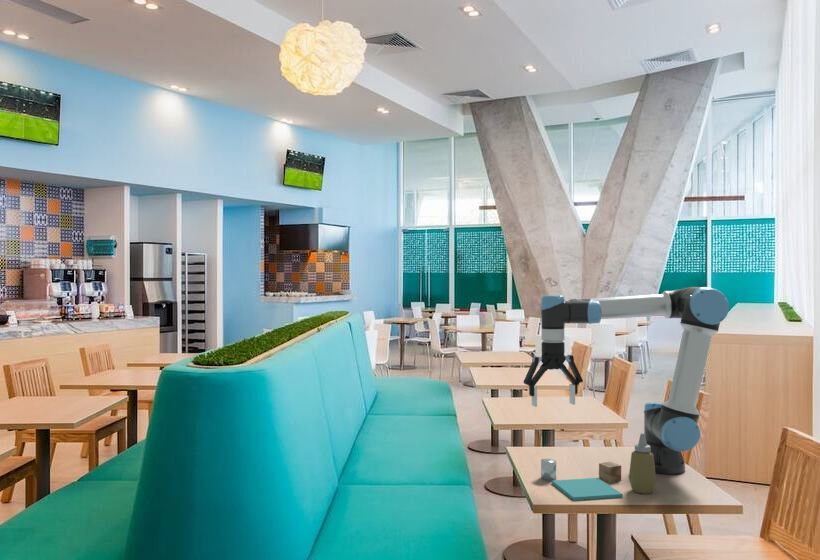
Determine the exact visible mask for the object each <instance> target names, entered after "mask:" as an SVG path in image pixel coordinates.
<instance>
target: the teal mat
mask: <svg viewBox="0 0 820 560" xmlns="http://www.w3.org/2000/svg"><path fill="white" fill-rule="evenodd" d="M551 485H553V486H554V487H556V488H557V489H558V490H559V491H560V492H562V493H563V494H564V495H566V496H567V497H568V498H570V499H571V500H572V499H573V500H575V501H585V500H584V499H590V500H603V499H615V498H617V499H618V498H623V493H622V492H620V491H619V490H617V489H615V488H614V487H612V485H610V484H608V483H606V481H604V480H603V479H600V478H599V477H588V478H574V479H570V478H569V479H559V480H558V479H556V480H553V481H551ZM573 500H572V501H573Z"/></svg>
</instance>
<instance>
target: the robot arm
mask: <svg viewBox="0 0 820 560" xmlns="http://www.w3.org/2000/svg"><path fill="white" fill-rule="evenodd" d="M729 310H730V305H729V301H728V298H727V297H726V295H725V294H724V293H723V292H722V291H720V290H719V289H716V288H712V287H709V286H702V287H701V286H690V287H683V288H681V289H674V290H664V291H663V292H662V293H661V294H660V293H659V294H658V293H657V294H643V295H628V296H627V295H626V296H613V297H612V296H610V297H595V298H594V297H593V298H580V299H576V298H573V299H569V300H565V296H564V295H561V294H558V295H557V294H551V295H549V294H548V295H547V294H546V295H543V296H542V297H541V305H540V314H541V315H540V318H541V320H540V321H541V322H540V323H541V327H540V328H541V332H540V333H541V335H540V336H541V340H542V342H541V356H536V355H533V356H532V361H531V364H530V366H529V369H528V371H527V373H526V375H525V377H524V380H523V384H524V385H526V386H528V394H529V396H530V397H531V406H533V407H534V408H536V407H538V387H537V386H536V385H537V383H538V382H539V381H540V379H541V378H542V377H543V375H545V373H546V372H548V370H550V371H551V370H560V371H561V372H562V373H563V374H564V376H566V378H567V379H568V381H569V382H571V383H569V385H568V386H569V388H568V389H569V393H568V394H569V398H568V399H569V404H571V405H576V395H577V394H578V386H579V384H580V383H583V382H584V381H583V380H584V379H583V378H582V376H581V373H580V371H579V369H578V367H577V365H576V363H575V357H574V355H571V354H567V355H565V348H566V347H565V345H566V344H565V342H564V341H565V324H589V325H592V324H599V323H600V322H601V320H611V319H613V320H614V319H628V318H629V319H630V318H631V319H632V318H647V317H664V318H665V319H680V322H679V324H680V326H681V327H682V329H683V333H682V338H681V342H680V346H679V350H678V354H677V360H676V363H675V369H674V372H673V378H672V381H671V387H670V390H669V394H668V395H669V396H668V399H667V400H666V401H663V402H658V401H653V402H646V403H645V404H644V410H643V413H644V414H643V415H644V416H643V418H644V422H643V423H644V424H643V427H644V428H643V431H644V433H643V434H645V438H646V442H647V445H650V446H651V451H650V452H651V453H652V454H653V455H654V463H655V473H656V474H664V475H677V474H678V475H679V474H682V473H685V471H686V463H685V462H686V461H685V460H684V457H683V456H684V455H683V453H682V452H688V451H690V450H692V449H693V448H694V447H696V446H697V445H698V443H699V441H700V438H701V429H700V426H699V424H698V423H699V418H700V412H699V410H698V408H697V403H698V399H699V395H700V391H701V384H702V381H703V375H704V372H705V368H706V364H707V363H706V362H707V358H708V356H709V355H708V353H709V350H710V346H711V345H710V344H711V341H712V336H714V335H715V334H717V333H719V329H720V328H719V327H720V324H721V322H723V321H724V320H725V319H726V318H727V316H728V314H729ZM564 362H567V363H568V365H569V368H570V370H571V371H572V373H571V371H569V369H568V368H567V366H566V365H565V363H564ZM540 363H542V364H541V365H540V366H539V368H538V365H539V364H540ZM537 368H538V370H537ZM536 370H537V371H536Z"/></svg>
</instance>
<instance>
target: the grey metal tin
mask: <svg viewBox="0 0 820 560" xmlns="http://www.w3.org/2000/svg"><path fill="white" fill-rule="evenodd" d="M540 479H541V480H542V481H544V480H545V482H552V481H553V480H557V460H555V459H554V458H553V459H552V458H542V459H541V460H540Z"/></svg>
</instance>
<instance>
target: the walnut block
mask: <svg viewBox="0 0 820 560" xmlns="http://www.w3.org/2000/svg"><path fill="white" fill-rule="evenodd" d="M598 478H599V479H600V480H602V481H604V482H607V483H613V482H619V481H622V465H621V464H618V463H617V462H616V463H615V462H612V461H606V462H599V463H598Z"/></svg>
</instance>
